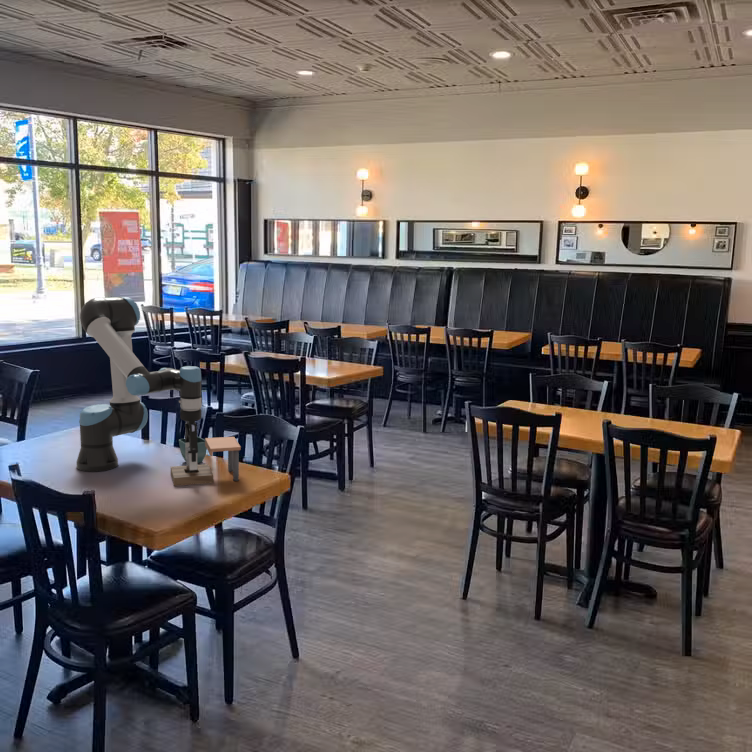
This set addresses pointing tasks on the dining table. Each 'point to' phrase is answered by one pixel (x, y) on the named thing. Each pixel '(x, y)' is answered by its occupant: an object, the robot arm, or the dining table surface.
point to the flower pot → (201, 449)
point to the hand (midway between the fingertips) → (191, 464)
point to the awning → (226, 445)
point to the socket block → (191, 475)
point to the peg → (188, 461)
